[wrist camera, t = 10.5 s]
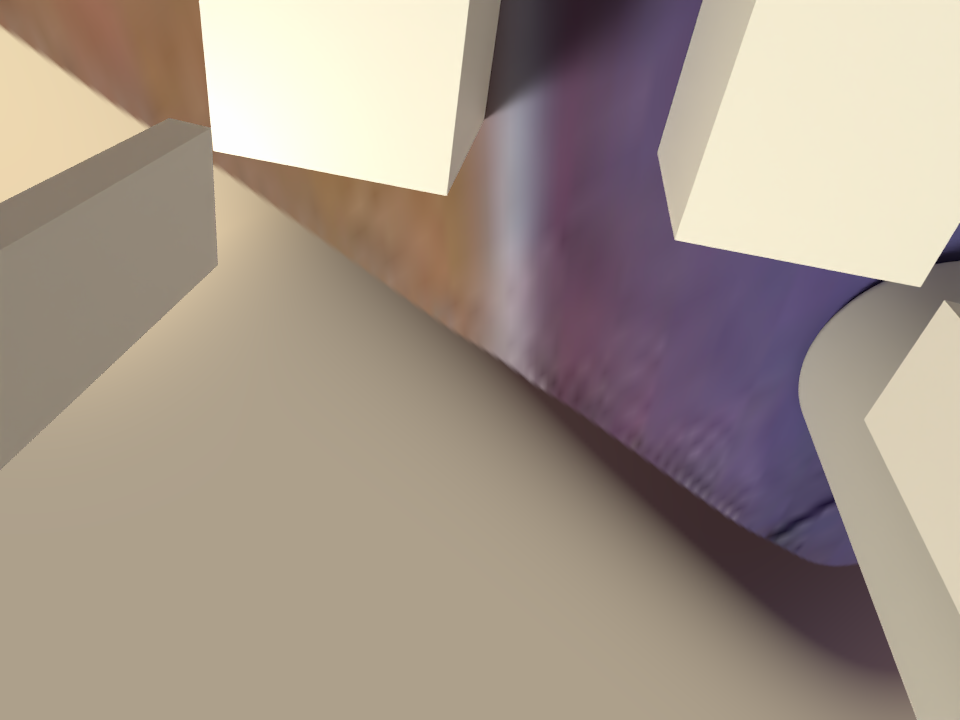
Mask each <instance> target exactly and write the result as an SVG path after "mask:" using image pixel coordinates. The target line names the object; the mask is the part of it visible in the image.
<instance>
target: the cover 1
mask: <svg viewBox="0 0 960 720" xmlns="http://www.w3.org/2000/svg"><path fill="white" fill-rule="evenodd" d="M199 4H200V15H201V25H202V36H203V46H204V57H205V67H206V78H207V89H208V99H209V110H210V120H211V131H212V141H213V151H217V152H222V153H227V154H233V155H238V156H243V157H248V158H253V159H258V160H264V161H269V162H274V163H279V164H284V165H290V166H295V167H300V168H305V169H310V170H315V171H321V172H326V173H331V174H336V175H341V176H347V177H352V178H357V179H362V180H367V181H372V182H378V183H383V184H388V185H393V186H398V187H404V188H409V189H414V190H419V191H424V192H429V193H435V194H440V195H445V196H447V194H448V192H449V190H450V188H451V186H452V184H453V182H454V180H455V178H456V176H457V174H458V172H459V170H460V168H461V166H462V164H463V162H464V160H465V158H466V156H467V154H468V152H469V150H470V147H471V145H472V143H473V141H474V139H475V137H476V135H477V133H478V131H479V129H480V127H481V125H482V123H483V121H484V117H485V110H486V103H487V96H488V89H489V82H490V75H491V68H492V61H493V54H494V46H495V39H496V32H497V25H498V18H499V11H500V4H501V0H199Z"/></svg>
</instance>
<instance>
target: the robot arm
mask: <svg viewBox="0 0 960 720" xmlns="http://www.w3.org/2000/svg"><path fill="white" fill-rule="evenodd" d="M217 265H218V261H217V240H216V220H215V200H214V181H213V158H212V138H211V128H209V127H205V126H201V125H197V124H192V123H188V122H184V121H179V120H175V119H171V118H169V119H167V120H165V121H163V122H161V123H159V124H157V125H155V126H153V127H151V128H149V129H147V130H145V131H143V132H141V133H139V134H137V135H135V136H133V137H131V138H129V139H127V140H125V141H123V142H121V143H119V144H117V145H115V146H113V147H111V148H109V149H107V150H105V151H103V152H101V153H99V154H97V155H95V156H93V157H91V158H89V159H87V160H85V161H83V162H81V163H79V164H77V165H75V166H74V167H71V168H69V169H67V170H65V171H63V172H61V173H59V174H57V175H55V176H53V177H51V178H49V179H47V180H45V181H43V182H41V183H39V184H37V185H35V186H33V187H31V188H29V189H27V190H25V191H23V192H22V193H19V194H17V195H15V196H14V197H11V198H9V199H8V200H5V201H4V202H2V203H0V470H1V468H3V467H4V466H5V465H6V464H7V463H8V462H9V461H10V460H11V459H12V458H13V457H14V456H15V455H17V453H19V451H21V450H22V449H23V448H24V447H25V446H26V445H27V444H28V443H29V442H30V441H31V440H32V439H34V438H35V437H36V435H38V434H39V433H40V432H41V431H42V430H43V429H44V428H45V427H46V426H47V425H48V424H49V423H51V422H52V421H53V420H54V419H55V418H56V417H57V416H58V415H59V414H60V413H61V412H62V411H63V410H64V409H65V408H66V407H67V406H68V405H70V404H71V403H72V402H73V401H74V400H75V399H76V398H77V397H78V396H79V395H80V394H81V393H82V392H83V391H84V390H86V388H88V387H89V386H90V385H91V384H92V383H93V382H94V381H95V380H96V379H97V378H98V377H99V376H100V375H101V374H103V373H104V372H105V371H106V370H107V369H108V368H109V367H110V366H111V365H112V364H113V363H114V362H115V361H116V360H117V359H118V358H119V357H121V356H122V355H123V354H124V353H125V352H126V351H127V350H128V349H129V348H130V347H131V346H132V345H133V344H134V343H135V342H136V341H137V340H139V338H141V337H142V336H143V335H144V334H145V333H146V332H147V331H148V330H149V329H150V328H151V327H152V326H153V325H155V324H156V323H157V322H158V321H159V320H160V319H161V318H162V317H163V316H164V315H165V314H166V313H167V312H168V311H169V310H170V309H172V308H173V307H174V306H175V305H176V304H177V303H178V302H179V301H180V300H181V299H182V298H183V297H184V296H185V295H186V294H187V293H188V292H190V291H191V290H192V289H193V288H194V287H195V286H196V285H197V284H198V283H199V282H200V281H201V280H202V279H203V278H204V277H205V276H207V275H208V274H209V273H210V272H211V271H212V270H213V269H214V268H215V267H216V266H217ZM864 421H865V423H866V425H867V427H868V429H869V431H870V433H871V435H872V437H873V439H874V441H875V443H876V445H877V447H878V449H879V451H880V453H881V455H882V457H883V459H884V462H885V464H886V466H887V468H888V470H889V472H890V474H891V476H892V478H893V480H894V482H895V484H896V486H897V488H898V490H899V492H900V494H901V496H902V498H903V500H904V502H905V504H906V506H907V508H908V510H909V512H910V514H911V516H912V518H913V520H914V522H915V525H916V527H917V529H918V531H919V533H920V535H921V537H922V539H923V541H924V543H925V545H926V547H927V549H928V551H929V553H930V555H931V557H932V559H933V561H934V563H935V565H936V567H937V569H938V571H939V573H940V575H941V577H942V579H943V581H944V583H945V586H946V588H947V590H948V592H949V594H950V596H951V598H952V600H953V602H954V604H955V606H956V608H957V610H958V612H959V614H960V304H959V303H955V302H951V301H946V300H944V301H943V303H942V304H941V306H940V307H939V309H938V310H937V312H936V313H935V315H934V316H933V318H932V319H931V321H930V322H929V324H928V325H927V327H926V328H925V330H924V331H923V333H922V334H921V336H920V337H919V339H918V340H917V342H916V343H915V344H914V346H913V347H912V349H911V350H910V352H909V353H908V355H907V356H906V358H905V359H904V361H903V362H902V364H901V365H900V367H899V368H898V370H897V371H896V373H895V374H894V376H893V377H892V379H891V380H890V382H889V383H888V385H887V386H886V388H885V389H884V391H883V392H882V394H881V395H880V397H879V398H878V399H877V401H876V402H875V404H874V405H873V407H872V408H871V410H870V411H869V413H868V414H867V416H866V417H865V419H864Z"/></svg>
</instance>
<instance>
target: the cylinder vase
mask: <svg viewBox="0 0 960 720" xmlns="http://www.w3.org/2000/svg"><path fill="white" fill-rule="evenodd" d="M944 300H946V301H951V302H955V303H959V304H960V261H954V262H946V263H940V264H934V266H933V267H932V269H931V271H930V272H929V274H928V276H927V277H926V279H925V281H924V282H923V284H922V286H921V287H916V286H911V285H906V284H901V283H896V282H890V281H884V282H882V283H880V284H878V285H876V286H874V287H872V288H870V289H869V290H867V291H865V292H864V293H862V294H861V295H859V296H858V297H856V298H855V299H853V300H852V301H851V302H849V303H848V304H847V305H845V306H844V307H843V308H842V309H841V310H840V311H838V312H837V313H836V314H835V315H834V316H833V317H832V318H831V319H830V320H829V321H828V322H827V324H826V325H825V326H824V327H823V328H822V330H821V331H820V332H819V334H818V335H817V336H816V338H815V339H814V341H813V343H812V344H811V346H810V348H809V350H808V352H807V354H806V357H805V359H804V362H803V365H802V368H801V372H800V378H799V401H800V406H801V410H802V413H803V416H804V418H805V421H806V424H807V426H808V429H809V432H810V434H811V437H812V440H813V442H814V445H815V448H816V451H817V453H818V456H819V459H820V461H821V464H822V467H823V469H824V472H825V475H826V477H827V480H828V483H829V485H830V488H831V491H832V493H833V496H834V499H835V501H836V504H837V507H838V509H839V512H840V515H841V517H842V520H843V523H844V525H845V528H846V531H847V534H848V536H849V539H850V542H851V544H852V547H853V550H854V552H855V555H856V558H857V560H858V563H859V566H860V568H861V571H862V574H863V576H864V579H865V582H866V584H867V587H868V590H869V592H870V595H871V598H872V600H873V603H874V605H875V608H876V611H877V614H878V616H879V619H880V622H881V625H882V627H883V630H884V632H885V635H886V638H887V640H888V643H889V646H890V648H891V651H892V654H893V656H894V659H895V662H896V664H897V667H898V670H899V672H900V675H901V678H902V681H903V683H904V686H905V689H906V691H907V694H908V697H909V700H910V702H911V705H912V707H913V710H914V713H915V716H916V718H917V720H960V614H959V612H958V610H957V608H956V606H955V604H954V602H953V600H952V598H951V596H950V594H949V592H948V590H947V588H946V586H945V583H944V581H943V579H942V577H941V575H940V573H939V571H938V569H937V567H936V565H935V563H934V561H933V559H932V557H931V555H930V553H929V551H928V549H927V547H926V545H925V543H924V541H923V539H922V537H921V535H920V533H919V531H918V529H917V527H916V525H915V522H914V520H913V518H912V516H911V514H910V512H909V510H908V508H907V506H906V504H905V502H904V500H903V498H902V496H901V494H900V492H899V490H898V488H897V486H896V484H895V482H894V480H893V478H892V476H891V474H890V472H889V470H888V468H887V466H886V464H885V462H884V459H883V457H882V455H881V453H880V451H879V449H878V447H877V445H876V443H875V441H874V439H873V437H872V435H871V433H870V431H869V429H868V427H867V425H866V423H865V421H864V419H865V417H866V416H867V414H868V413H869V411H870V410H871V408H872V407H873V405H874V404H875V402H876V401H877V399H878V398H879V397H880V395H881V394H882V392H883V391H884V389H885V388H886V386H887V385H888V383H889V382H890V380H891V379H892V377H893V376H894V374H895V373H896V371H897V370H898V368H899V367H900V365H901V364H902V362H903V361H904V359H905V358H906V356H907V355H908V353H909V352H910V350H911V349H912V347H913V346H914V344H915V343H916V342H917V340H918V339H919V337H920V336H921V334H922V333H923V331H924V330H925V328H926V327H927V325H928V324H929V322H930V321H931V319H932V318H933V316H934V315H935V313H936V312H937V310H938V309H939V307H940V306H941V304H942V303H943V301H944Z"/></svg>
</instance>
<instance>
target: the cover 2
mask: <svg viewBox="0 0 960 720" xmlns="http://www.w3.org/2000/svg"><path fill="white" fill-rule="evenodd" d="M657 153H658V158H659V163H660V168H661V173H662V178H663V183H664V189H665V194H666V199H667V204H668V209H669V214H670V219H671V224H672V229H673V234H674V239H675V240H678V241H683V242H688V243H693V244H699V245H704V246H709V247H714V248H719V249H724V250H730V251H735V252H740V253H745V254H750V255H756V256H761V257H766V258H771V259H776V260H781V261H787V262H792V263H797V264H802V265H807V266H813V267H818V268H823V269H828V270H833V271H838V272H844V273H849V274H854V275H859V276H864V277H870V278H875V279H880V280H885V281H890V282H896V283H901V284H906V285H911V286H916V287H921V286H922V284H923V282H924V281H925V279H926V277H927V276H928V274H929V272H930V271H931V269H932V267H933V266H934V264H935V262H936V261H937V259H938V258H939V256H940V254H941V253H942V251H943V249H944V248H945V246H946V244H947V243H948V241H949V239H950V238H951V236H952V234H953V233H954V231H955V229H956V228H957V226H958V224H959V223H960V0H703V2H702V5H701V8H700V12H699V15H698V18H697V22H696V25H695V28H694V32H693V35H692V38H691V42H690V45H689V48H688V52H687V55H686V58H685V62H684V65H683V69H682V72H681V75H680V79H679V82H678V85H677V89H676V92H675V95H674V99H673V102H672V105H671V109H670V112H669V115H668V119H667V122H666V125H665V129H664V132H663V135H662V139H661V142H660V146H659V149H658V152H657Z"/></svg>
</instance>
